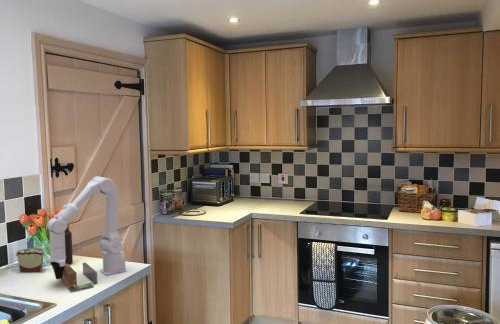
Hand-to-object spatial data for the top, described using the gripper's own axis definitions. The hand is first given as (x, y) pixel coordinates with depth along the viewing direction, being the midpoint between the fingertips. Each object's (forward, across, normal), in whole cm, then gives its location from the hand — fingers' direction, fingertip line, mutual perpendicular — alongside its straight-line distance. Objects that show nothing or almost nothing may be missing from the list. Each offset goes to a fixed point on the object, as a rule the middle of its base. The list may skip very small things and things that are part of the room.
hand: (59, 278), depth 178 cm
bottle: (+3, -27, +9) cm, 29 cm away
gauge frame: (+3, +2, +7) cm, 8 cm away
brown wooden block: (+3, +2, +4) cm, 5 cm away
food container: (+3, -26, -5) cm, 27 cm away
